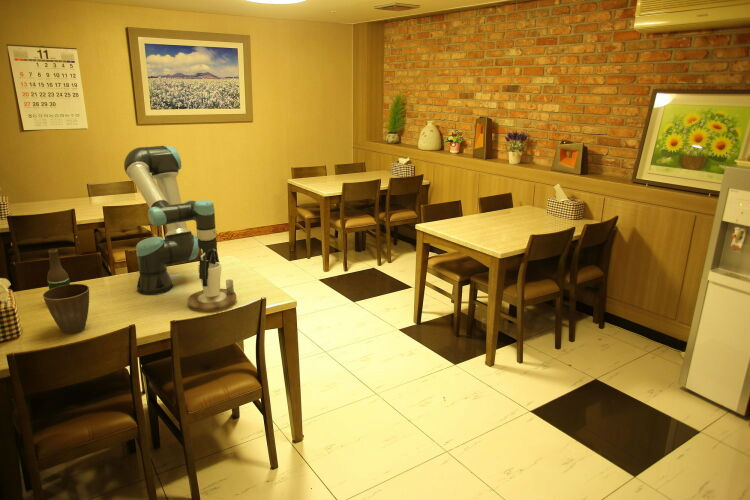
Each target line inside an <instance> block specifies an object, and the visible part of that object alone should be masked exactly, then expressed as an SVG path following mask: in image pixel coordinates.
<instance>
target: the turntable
mask: <svg viewBox="0 0 750 500" xmlns="http://www.w3.org/2000/svg"><path fill="white" fill-rule="evenodd" d="M234 288H235V287H234V280H233V279H226V280H225V288H220V294H219V295H217V296H213V297H207V296H205V295H204V293H203V289H202V290H198V291H196V292H194V293H192V294H191V295H190V296H189V297H188V298H187V304H188V306H189V307H190V308H191V309H194V310H199V311H215V310H220V309H224V308H227V307H229V306H232V305H233V304H234V303H235V302H236V301H237V294H236V292H235V291H234Z"/></svg>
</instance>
